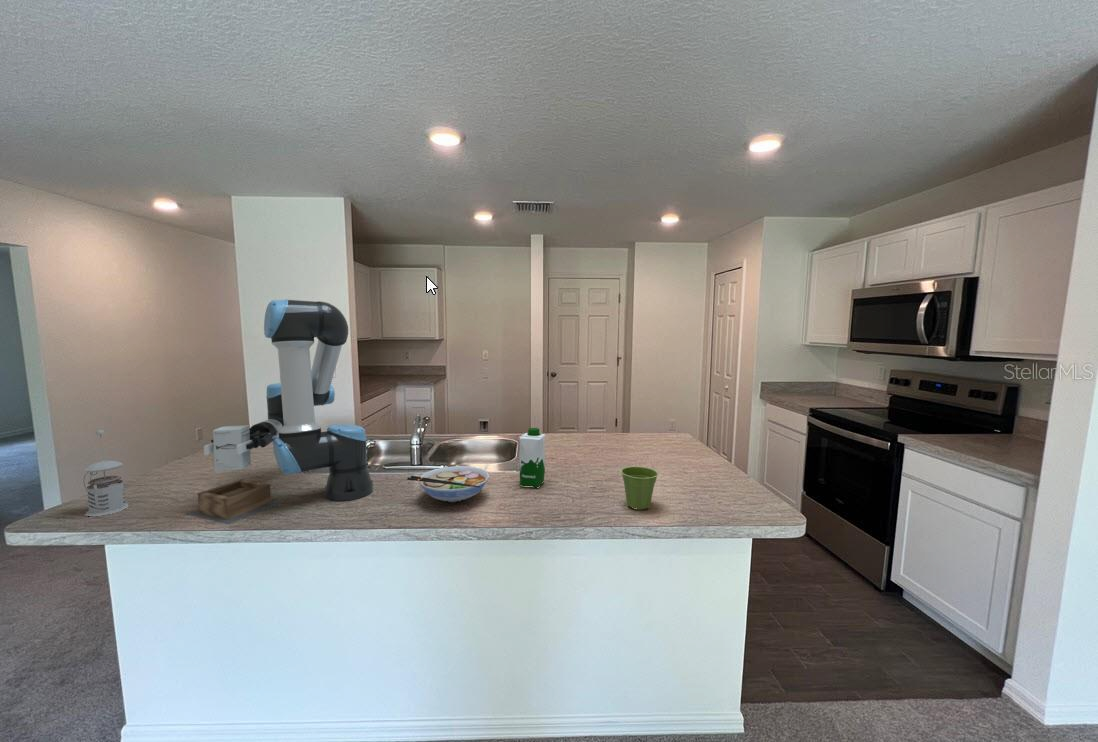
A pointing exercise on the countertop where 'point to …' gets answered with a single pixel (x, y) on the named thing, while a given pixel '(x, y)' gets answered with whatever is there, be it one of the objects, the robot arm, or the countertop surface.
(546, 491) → the countertop surface
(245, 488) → the tray
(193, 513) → the mat
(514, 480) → the countertop surface
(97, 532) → the countertop surface
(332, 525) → the countertop surface
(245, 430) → the supplement box
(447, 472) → the ramen bowl
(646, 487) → the plant pot
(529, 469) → the milk carton
